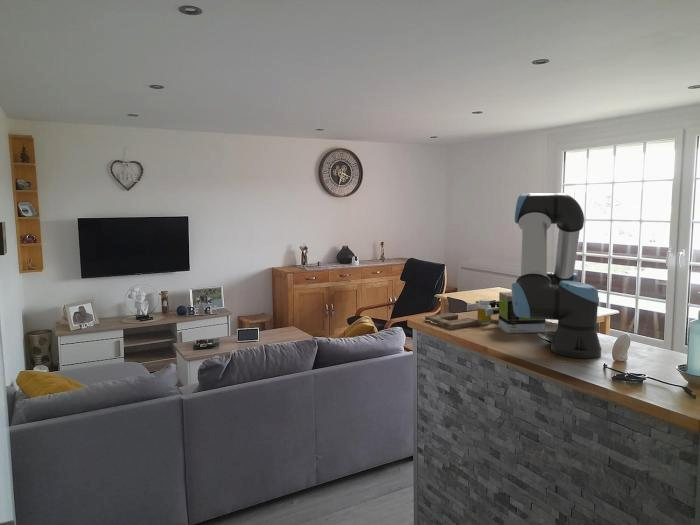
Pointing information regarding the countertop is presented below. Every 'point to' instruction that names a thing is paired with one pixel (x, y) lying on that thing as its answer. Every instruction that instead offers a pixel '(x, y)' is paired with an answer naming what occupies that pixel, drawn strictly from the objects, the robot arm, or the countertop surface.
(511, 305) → the tea box
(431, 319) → the u-shaped block
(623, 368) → the countertop surface
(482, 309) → the supplement bottle
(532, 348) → the countertop surface
